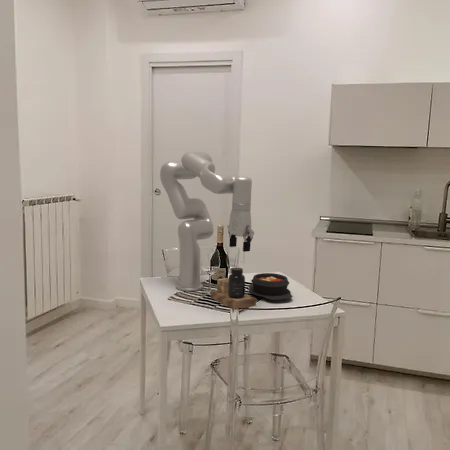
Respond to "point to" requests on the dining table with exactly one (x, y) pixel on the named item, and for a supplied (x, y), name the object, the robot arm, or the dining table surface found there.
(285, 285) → the casserole
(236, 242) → the robot arm
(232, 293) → the supplement bottle
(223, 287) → the oak cube
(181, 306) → the dining table surface
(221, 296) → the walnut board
